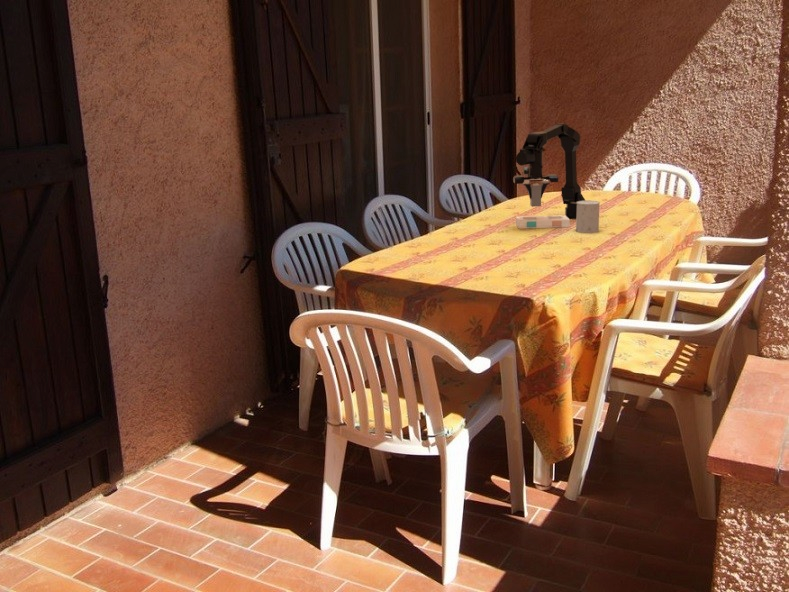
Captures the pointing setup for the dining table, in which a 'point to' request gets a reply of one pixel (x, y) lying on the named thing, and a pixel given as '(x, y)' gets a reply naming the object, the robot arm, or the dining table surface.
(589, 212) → the stone cylinder
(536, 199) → the plug
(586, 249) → the dining table surface
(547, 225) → the socket strip
